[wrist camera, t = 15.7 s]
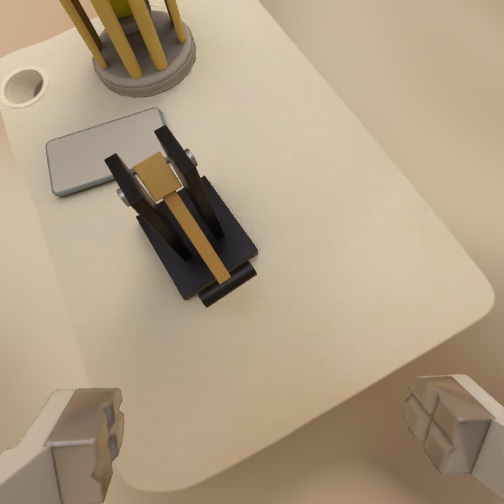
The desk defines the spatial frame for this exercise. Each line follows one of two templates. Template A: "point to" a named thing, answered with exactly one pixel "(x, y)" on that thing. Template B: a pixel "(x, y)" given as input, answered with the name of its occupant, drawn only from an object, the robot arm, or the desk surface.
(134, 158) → the smartphone
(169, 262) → the switch bracket
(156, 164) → the lever
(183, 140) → the desk surface
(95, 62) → the lantern
